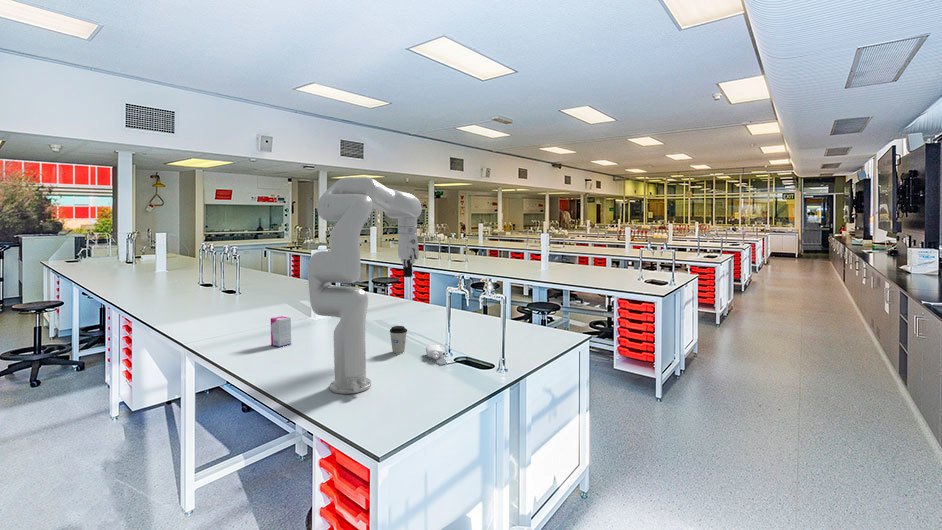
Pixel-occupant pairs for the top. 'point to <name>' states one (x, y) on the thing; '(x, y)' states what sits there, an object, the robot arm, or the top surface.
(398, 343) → the coffee cup
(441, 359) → the mat
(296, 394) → the top surface
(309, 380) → the top surface
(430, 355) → the eye dropper bottle
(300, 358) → the top surface
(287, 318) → the supplement box
